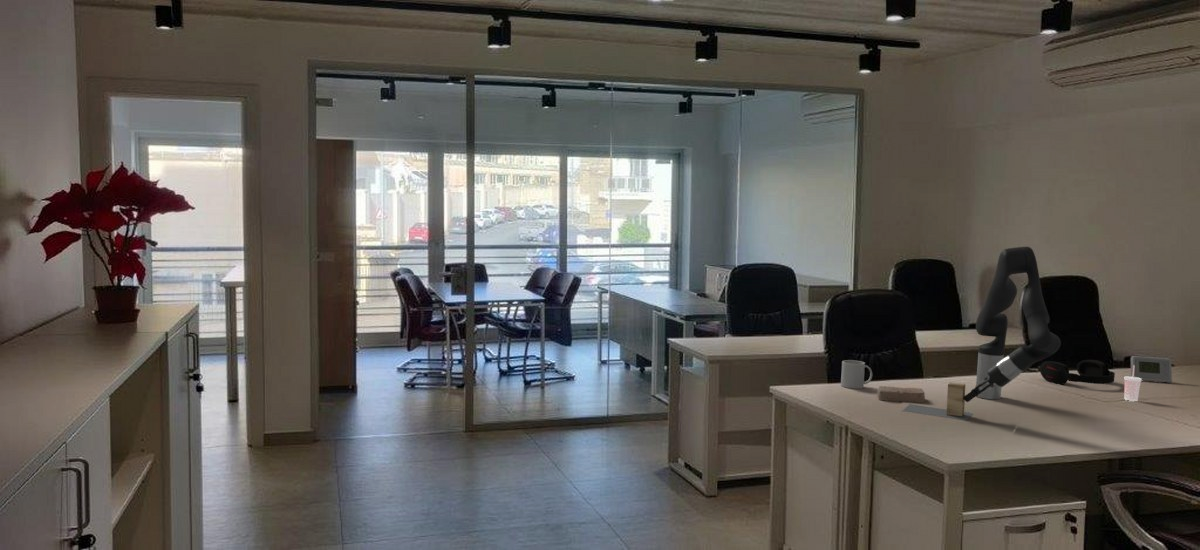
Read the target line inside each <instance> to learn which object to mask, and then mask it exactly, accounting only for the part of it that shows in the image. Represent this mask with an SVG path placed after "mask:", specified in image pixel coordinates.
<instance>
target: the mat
mask: <svg viewBox="0 0 1200 550" xmlns="http://www.w3.org/2000/svg"><path fill="white" fill-rule="evenodd" d="M901 412H906V413H914V414H920V415H924V416H925V415H927V416H931V417H932V416H933V417H939V418H945V419H952V420H958V421H964V422H965V421H966V422H968V421H969V420H970V418H971V417H972V416H973V415H974V413H973V412H965V411H964V415H963V416H962V417H958V416H950V415H947V408H938V407H932V406H926V405H917V404H911V403H909V404H908V405H907V406H906V407H904V408H903V409H902V410H901Z"/></svg>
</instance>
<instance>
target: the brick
mask: <svg viewBox="0 0 1200 550" xmlns="http://www.w3.org/2000/svg"><path fill="white" fill-rule="evenodd" d="M925 397H926V395H925V391H924V390H923V389H922V388H920V387H919V388H917V387H895V386H886V385H885V386H883V385H880V386H879V387H878V389H877V399H878V401H883V400H886V401H885V402H895V401H901V402H900V403H904V402H912V403H924V402H925V400H926V399H925Z"/></svg>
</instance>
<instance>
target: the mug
mask: <svg viewBox="0 0 1200 550" xmlns="http://www.w3.org/2000/svg"><path fill="white" fill-rule="evenodd" d="M865 368H867V369H868V371H869V378H868V380H867V379H866V381H865ZM872 379H873V371H872V368H871V367H869V365H866V362H864V361H861V360H854V359H847V360H845V359H844V360H842V361H841V377H840V386H841V387H843V388H846V389H855V390H856V389H857V390H858V389H864V385H867V384H869V383H870V382H871V380H872Z"/></svg>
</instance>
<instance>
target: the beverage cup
mask: <svg viewBox="0 0 1200 550" xmlns="http://www.w3.org/2000/svg"><path fill="white" fill-rule="evenodd" d="M1134 368H1135V365H1133V375H1132V377H1131V375H1130V376H1128V375H1127V376H1125V375H1124V377H1123V379H1124V396H1123V397H1124V398H1123V400H1124V399H1125V400H1124V401H1127V400H1129V401H1128V402H1134V401H1137V402H1138V400H1139V394H1140V388H1141V382H1143V381H1142V379H1141V378H1138V377H1134Z"/></svg>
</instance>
